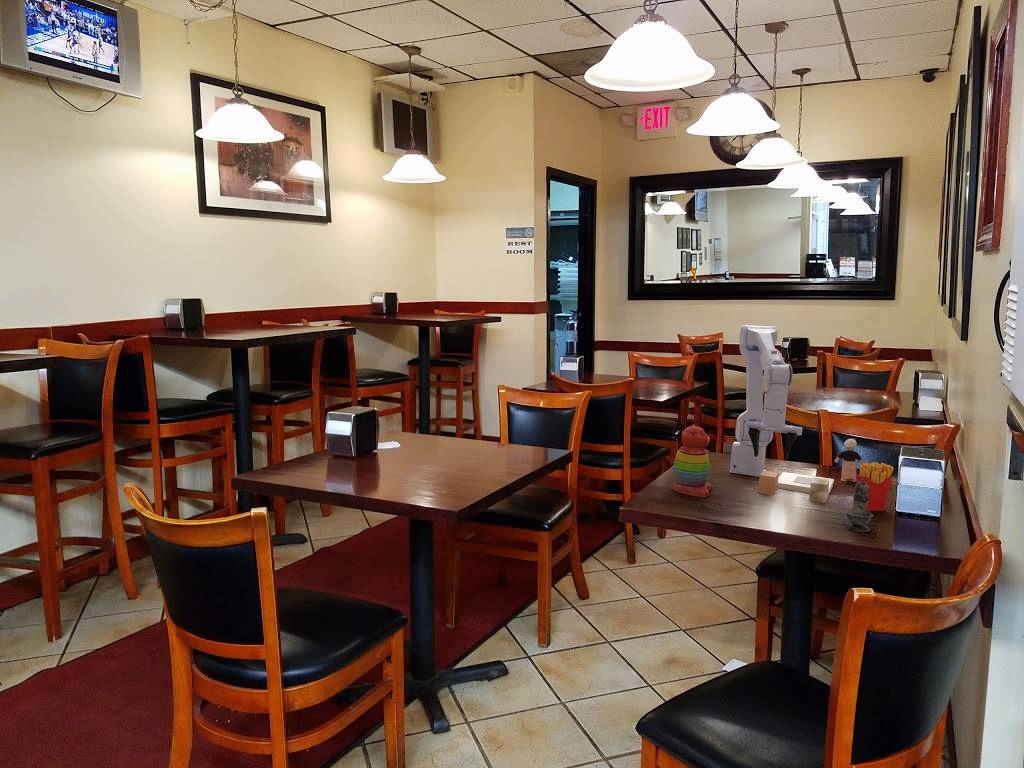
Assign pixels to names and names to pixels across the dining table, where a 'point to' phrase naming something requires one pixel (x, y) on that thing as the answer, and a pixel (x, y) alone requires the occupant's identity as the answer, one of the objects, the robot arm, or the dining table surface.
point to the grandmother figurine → (849, 461)
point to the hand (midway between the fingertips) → (770, 457)
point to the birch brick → (819, 490)
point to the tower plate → (799, 482)
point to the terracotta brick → (768, 482)
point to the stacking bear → (692, 463)
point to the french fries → (876, 484)
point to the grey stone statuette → (859, 509)
